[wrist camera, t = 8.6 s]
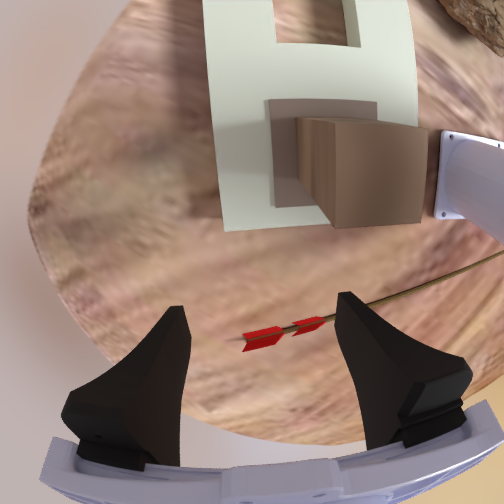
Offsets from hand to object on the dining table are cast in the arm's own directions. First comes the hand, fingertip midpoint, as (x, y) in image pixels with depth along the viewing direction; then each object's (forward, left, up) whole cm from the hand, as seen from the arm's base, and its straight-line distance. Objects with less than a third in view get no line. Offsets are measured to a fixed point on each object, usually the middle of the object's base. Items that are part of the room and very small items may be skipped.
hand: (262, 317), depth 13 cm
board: (-5, -11, -10) cm, 16 cm away
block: (-5, -6, -8) cm, 11 cm away
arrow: (-15, +8, -11) cm, 20 cm away
